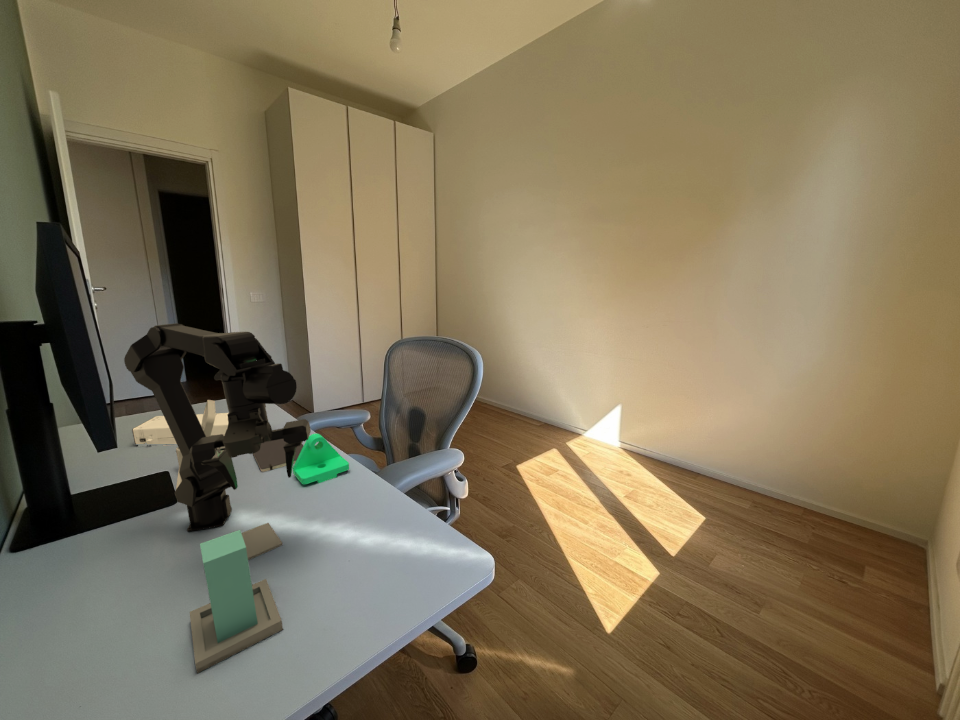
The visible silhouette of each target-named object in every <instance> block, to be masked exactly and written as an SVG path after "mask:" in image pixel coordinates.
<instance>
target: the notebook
mask: <svg viewBox="0 0 960 720" xmlns="http://www.w3.org/2000/svg"><path fill="white" fill-rule="evenodd" d="M285 443H286V442H285V441H284V439H278V440H273V441H268V442H264V443H261V445H260V446H261V447H260V450H259V451H258V452H256V453H253V454H252V455H253V457H254V459H255V461H256V464H257V465H258V466H257V467H259V470H260V471H261V472H262V473H264V472H268V471H273V470H275V469H280V468H283V467H286V457H285V451H284V448H283V447H284V445H285ZM303 446H304V444H303V443H302V445H300V446H298V447H297V448H296V451H295V456H294V462H293V465H294V464H295V462H296V460H297V458H298V456H299V454H300V452H301V450H302V448H303Z"/></svg>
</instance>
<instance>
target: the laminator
mask: <svg viewBox="0 0 960 720" xmlns="http://www.w3.org/2000/svg"><path fill="white" fill-rule="evenodd" d="M266 413H267V411H266ZM195 414H196V416H197V418H198V420H199V422H200V424H202V419H203V414H204V413H199V414H197V413H195ZM227 414H229V412H221V413H217V412H216V416H215V421H214V425H213V428H212V432H211V436H214V435H220V434H223V435H225V433H226V430H227V428H228V415H227ZM267 414H268V413H267ZM131 432H132V437H133V441H134V444H145V443H147V444H177V443H176V441H175V439H174V437H173V434H172V432H171V430H170V428H169V426H168V424H167V422H166V420H165V417H164V415H156V416H153V417H152V418H150V419H148V420H146V421H145V422H143V423H140V424H139V425H137V426H135V427H133V428H132V429H131Z"/></svg>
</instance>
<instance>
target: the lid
mask: <svg viewBox="0 0 960 720" xmlns="http://www.w3.org/2000/svg"><path fill="white" fill-rule="evenodd" d="M270 524H271V523H270V522H266V523H263V524H261V525H259V526H256V527H253V528H251V529H248V530H246V531H243V532H241V534H242V537H243V540H244V543H245V546H246V550H247V557H248V561H250V560H252V559H254V558H257V557H259V556H261V555H263V554H266V553H268V552H271V551H272V550H275V549H277V548H279V547H282V546H283V545H284V544H283V542H282V540H281V538H280V537H279V536H278V534H277V533H276V531H275V530H274V529H273V527H272V525H270Z"/></svg>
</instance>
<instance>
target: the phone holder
mask: <svg viewBox="0 0 960 720" xmlns="http://www.w3.org/2000/svg"><path fill="white" fill-rule="evenodd" d="M215 401H216V400H211V399H207V401H206V403H205V407H204V411H203V413H202V414H203V419H202V424H201V426H202V429H203V431H204V433H205V435H206V437H209V436H211V432H212V428H213V425H214V421H215V416H216V413H217V412H216V402H215ZM175 452H176V456H177V457H176V458H177V463H178V472H177V479H176V486H175V487H176V488H175V490H176V489H177V488H178V486H179V485H180V483H181V482H182V479H181V476H180V474H179V471H180V466H181V462H182V458H183V456H182V454H181V452H180V449H179V447H178V446H177V447H176V448H175Z"/></svg>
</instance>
